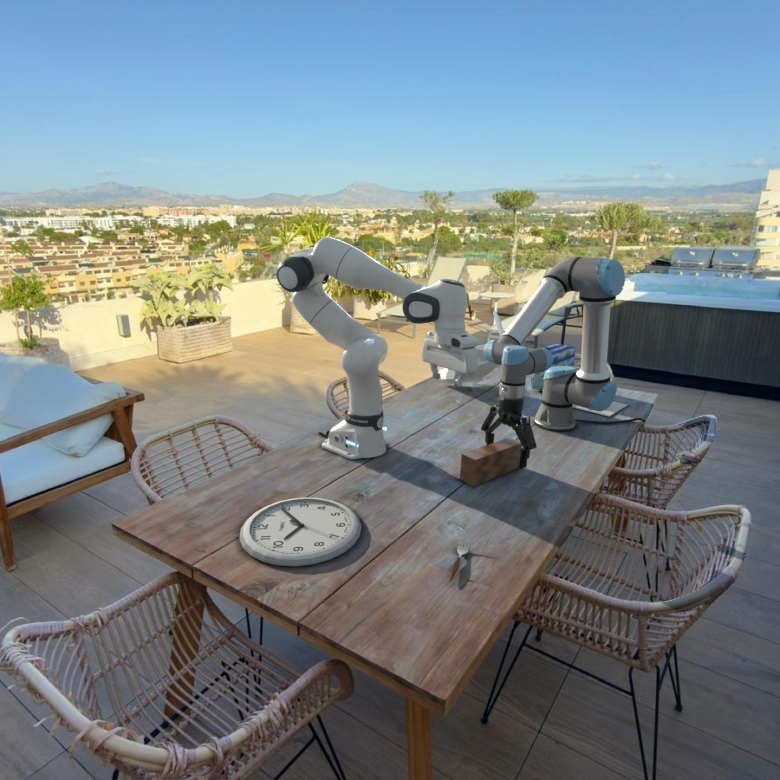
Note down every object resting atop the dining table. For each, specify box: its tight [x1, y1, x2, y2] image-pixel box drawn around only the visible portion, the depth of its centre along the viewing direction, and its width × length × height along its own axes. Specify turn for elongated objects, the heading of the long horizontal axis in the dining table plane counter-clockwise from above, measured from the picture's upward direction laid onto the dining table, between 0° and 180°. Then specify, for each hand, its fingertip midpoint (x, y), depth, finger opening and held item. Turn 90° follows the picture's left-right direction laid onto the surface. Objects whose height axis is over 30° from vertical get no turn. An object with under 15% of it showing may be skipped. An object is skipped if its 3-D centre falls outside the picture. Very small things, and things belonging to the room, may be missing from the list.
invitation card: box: [573, 400, 629, 418], centre depth 226 cm, size 21×1×15 cm
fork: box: [449, 535, 471, 582], centre depth 119 cm, size 3×16×2 cm, turn 160°
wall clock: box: [239, 497, 362, 567], centre depth 131 cm, size 30×2×30 cm
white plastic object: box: [438, 310, 531, 397], centre depth 245 cm, size 37×45×31 cm
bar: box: [459, 437, 523, 487], centre depth 162 cm, size 22×6×8 cm, turn 128°
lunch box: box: [530, 343, 576, 392], centre depth 248 cm, size 26×11×21 cm, turn 134°
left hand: (446, 382), depth 156 cm, fingers open, 8 cm apart
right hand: (505, 460), depth 166 cm, fingers open, 13 cm apart
